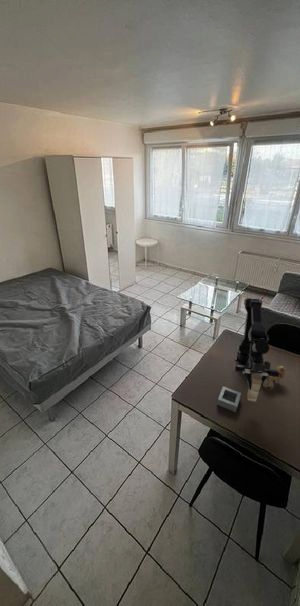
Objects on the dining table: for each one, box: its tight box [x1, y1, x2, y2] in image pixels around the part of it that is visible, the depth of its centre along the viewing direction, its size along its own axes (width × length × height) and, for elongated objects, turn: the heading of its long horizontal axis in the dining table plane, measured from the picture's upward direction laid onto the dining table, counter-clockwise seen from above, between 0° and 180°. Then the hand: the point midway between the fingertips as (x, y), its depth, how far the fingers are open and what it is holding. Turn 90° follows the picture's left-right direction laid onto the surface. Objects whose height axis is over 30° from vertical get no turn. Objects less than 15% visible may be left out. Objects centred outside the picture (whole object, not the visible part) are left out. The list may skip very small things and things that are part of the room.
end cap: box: [216, 386, 242, 413], centre depth 125 cm, size 9×9×4 cm
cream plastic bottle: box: [246, 374, 262, 402], centre depth 116 cm, size 4×4×13 cm
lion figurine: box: [261, 365, 286, 388], centre depth 134 cm, size 15×5×9 cm, turn 119°
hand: (254, 390), depth 115 cm, fingers closed on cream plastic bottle, 3 cm apart
